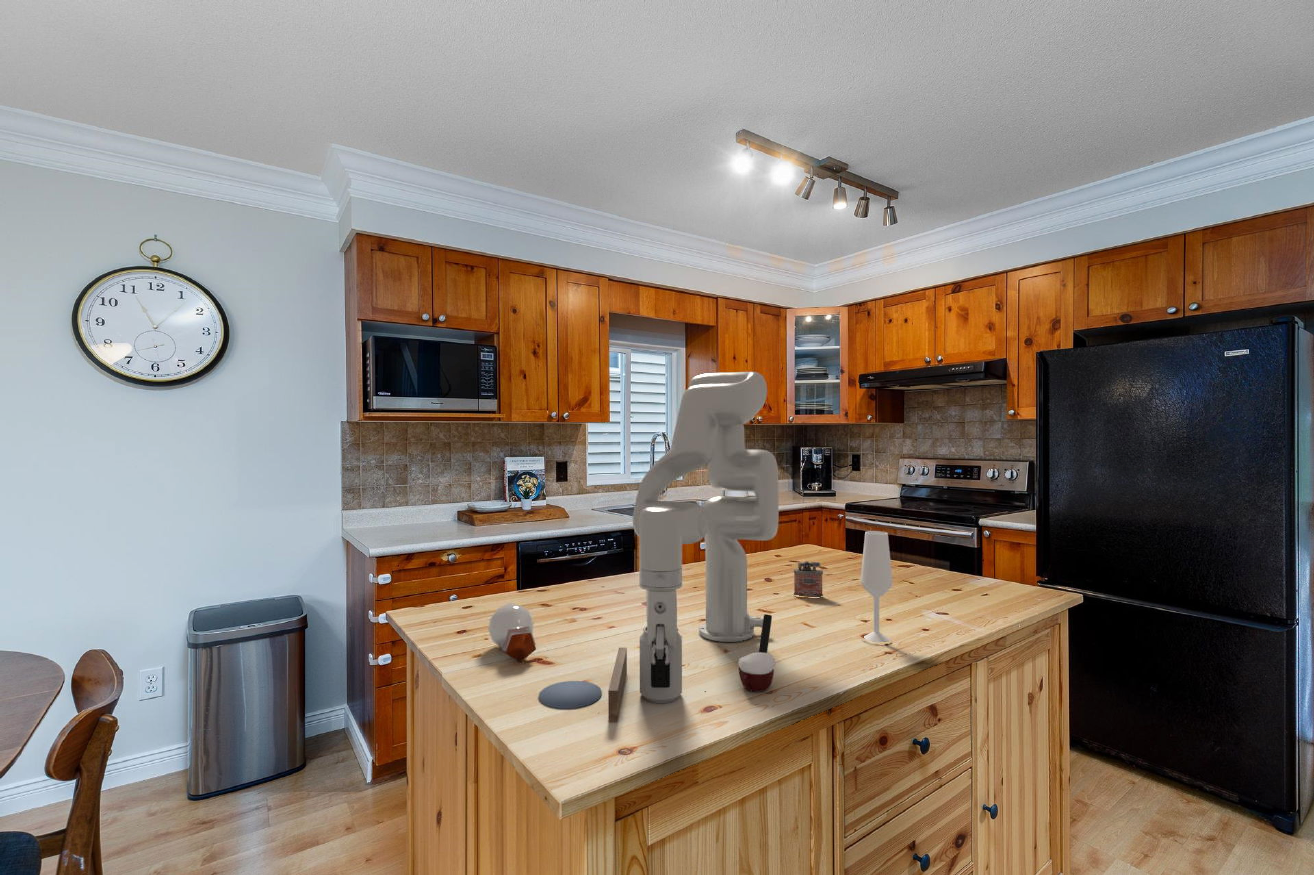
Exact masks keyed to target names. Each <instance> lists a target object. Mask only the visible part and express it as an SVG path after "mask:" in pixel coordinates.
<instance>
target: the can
mask: <svg viewBox="0 0 1314 875" xmlns="http://www.w3.org/2000/svg"><path fill="white" fill-rule="evenodd" d="M656 627H657V625H656ZM642 631H643V632H642V633H641V635H640V636H639V693H640V694H641V695H642V696H643V697H644V699H645V700H647V701H648V702H652V703H657V704H664V703H671V702H674V701H675V700H677V699H678V697H680V695H681V694H682V693H683V649H682V648H683V640H682V639H683V636H682V635H681V634H680V633H679V628H678V627H677V646H676V647H675V648H673V647H669V649H668V663H670V687H669V688H653V687H651V663H652V648H651V647H649V644H648V632H647V625H645V627H644V628H643V630H642ZM655 645H656V641H655ZM664 645H666V641H664ZM668 646H669V644H668ZM655 652H656V650H655ZM664 652H665V650H664Z"/></svg>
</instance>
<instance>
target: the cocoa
mask: <svg viewBox="0 0 1314 875" xmlns="http://www.w3.org/2000/svg"><path fill="white" fill-rule="evenodd" d="M772 618H773V616H772V615H771V614H767V613H766V614H763V617H762V619H763V624H762V627H761V633H760V640H759V646H758V652H752V653H748V654H747V655H745V656H742V657H740V658H739V659H738V662H737V664H738V676H739V678H740V682H741V684H742V685H743V687H744V688H745V689H747V690H748V689H749V690H748V691H750V690H752V691H751V692H754V691H761V692H764V691H766V690H767V689H769V688H770V687H771V685H772V683H773V678H774V675H775V674H774V673H775V672H774V670H775V669H774V668H775V667H776V661H775V657H773V655H772V654H771V653H768V649H769V642H770V635H771V634H770V633H771V626H772Z"/></svg>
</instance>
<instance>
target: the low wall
mask: <svg viewBox="0 0 1314 875" xmlns="http://www.w3.org/2000/svg"><path fill="white" fill-rule="evenodd" d="M627 653H628V648H627V647H618V651H617V654H616V659H615V661H614V662H615V663H614V666H613V671H612V674H611V678H610V683H609V687H608V699H607V700H608V715H607V716H608V721H607V722H610V723H612V721H614V722H613V723H615V722H616V723H617V722H619V718H620V712H621V707H622V702H623V696H624V690H625V685H626V680H627V675H628V657H627V656H628V654H627Z"/></svg>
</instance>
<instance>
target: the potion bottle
mask: <svg viewBox="0 0 1314 875" xmlns="http://www.w3.org/2000/svg"><path fill="white" fill-rule="evenodd" d="M492 614H493V615H491V617H490V619H489V622H488V628H487V629H488V632H489V633H488V634H489V635H490V638H491V641H492V642H493V644H496V645H497V646H499V647H500V648H501V650H502V651H504V652H505V655H506V656H508V657H510V658H512V659H514V660H516V661H518V662H519V663H522V662H523V661H524V660H525V659H526V658H528V657H529V656H530V655H531V654H532V653H534V652H535V651H536V650H537V647H536V644H537V643H536V641H535V638H534V635H533V632H534V620H533V618H532V617H533V616H532V615H531V611H530V610H528V609H526V608H525V607H523V606H522V605H520V604H518V603H517V604H515V603H507V604H505V605H502V606H500V607H498V608H497V609H496V610H495V612H494V613H492Z"/></svg>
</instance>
